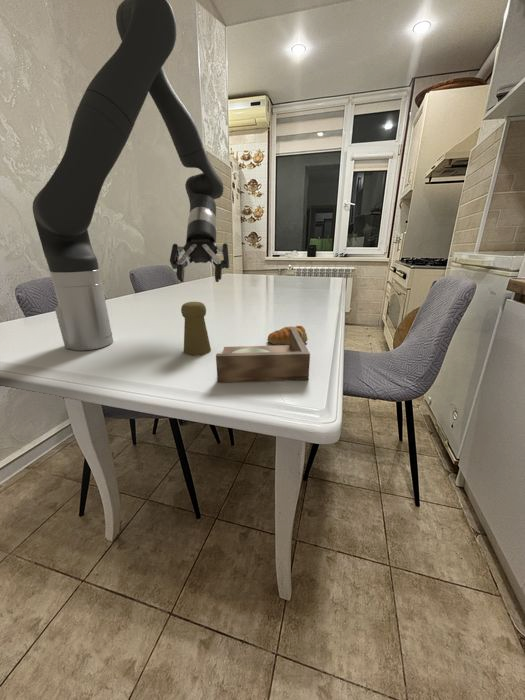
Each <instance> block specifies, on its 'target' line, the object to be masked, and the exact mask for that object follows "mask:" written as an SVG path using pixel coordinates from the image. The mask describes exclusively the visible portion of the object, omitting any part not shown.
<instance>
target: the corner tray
mask: <svg viewBox="0 0 525 700" xmlns="http://www.w3.org/2000/svg"><path fill="white" fill-rule="evenodd" d="M291 327H292V328H290V342H289V345H253V346H252V345H247V346H245V345H244V346H243V345H242V346H241V345H240V346H223V350H222V352H221V353H218V352H217V353H216V354H215V360H216V361H215V363H216V378H217V383H219V384H220V383H221V384H222V383H252V382H254V383H255V382H256V383H257V382H260V383H261V382H287V381H290V382H291V381H309V380H310V379H309V376H310V363H311V362H310V361H311V360H310V359H311V352H310V351H309V349H308V347H307V346H306V343H304V342H303V340H302V339H301V337H300V335H299V333H298V331H297V330H296V328H295V327H296V326H291Z"/></svg>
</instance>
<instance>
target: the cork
mask: <svg viewBox="0 0 525 700" xmlns="http://www.w3.org/2000/svg"><path fill="white" fill-rule="evenodd" d="M180 312H181V315H182V317H183V318H184V328H183V329H184V330H183V336H184V337H183V354H184V355H186V356H189V355H191V356H193V357H199V356H198V355H200V356H204V355H207V354H209V353H211V351H212V348H211V343H210V339H209V335H208V330H207V326H206V319H205V317H206V314H207V308H206V305H205V303H203V302H200V301H189V302H185V303H183V304H182V306H181V308H180ZM206 353H207V354H206ZM203 354H204V355H203ZM196 355H197V356H196ZM191 356H190V357H191Z"/></svg>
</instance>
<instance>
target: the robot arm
mask: <svg viewBox="0 0 525 700" xmlns="http://www.w3.org/2000/svg"><path fill="white" fill-rule="evenodd" d="M115 13H116V14H115V21H116V23H115V24H116V29H117V32H118V35H119V38H120V39H121V43H120V45H119V46H118V48H117V49H116V51H115V52H114V53H113V54H112V56H110V58H109V59H108V60H107V61H106V62H105V63H104V65H102V67H101V68H100V69H99V70H98V71H97V73H96V74H95V75H94V76H93V78H92V79H91V81H90V82H89V84H88V86H87V87H86V89H85V90H84V93H83V94H82V95H83V96H82V98H81V100H80V101H79V103H78V106H77V108H76V111H75V114H74V116H73V120H72V123H71V127H70V131H69V134H68V140H67V144H66V148H65V151H64V154H63V156H62V158H61V160H60V162H59V163H58V166H57V167H56V168H55V170H54V171H53V173H52V175H51V176H50V178H49V180H47V182H46V184H45V185H44V186H43V187H42V189H40V190H39V192H38V193H37V194H36V196H35V197H34V199H33V201H32V215H33V218H34V222H35V225H36V229H37V233H38V237H39V241H40V244H41V248H42V252H43V254H44V255H43V256H44V257H45V260H46V263H47V265H48V270H49V273H50V278H51V281H52V282H51V283H52V285H53V289H54V293H55V297H56V300H57V303H58V306H56V307H55V308H54V311H55V315H56V318H57V323H58V326H59V331H60V333H61V337H62V342H63V344H64V349H66V350H68V349H70V350H72V351H73V350H74V351H79V352H80V351H90V350H96V349H101V348H104V347H107V346H109V345H111V344H113V342H114V338H113V332H112V327H111V323H110V317H109V312H108V307H107V303H106V298H105V292H104V287H103V283H102V282H103V281H102V277H101V273H100V268H99V263H98V259H97V258H98V257H97V256H96V254H95V252H94V249H93V247H92V244H91V239H90V235H89V230H88V229H89V227H90V226H91V223H92V220H93V216H94V214H95V209H96V205H97V202H98V200H99V197H100V194H101V192H102V189H103V185H104V183H105V181H106V179H107V177H108V175H109V174H110V172H111V170H113V168H114V165H116V163H117V161H118V159H119V157H120V155H121V153H122V151H123V149H124V148H125V146H126V144H127V142H128V140H129V138H130V136H131V134H132V131H133V128H134V127H135V124H136V121H137V120H138V117H139V115H140V112H141V110H142V107H143V105H144V103H145V101H146V98H147V96H148V94H150V96H151V99H152V101H153V103H154V105H155V106H156V108H157V109H158V111H159V114H160V116H161V118H162V120H163V122H164V125H165V126H166V128H167V131H168V133H169V136H170V138H171V140H172V143H173V145H174V148H175V150H176V153H177V155H178V157H179V160H180V162H181V165H182V166H183V167H185V168H187V169H188V168H189V169H190V168H192V169H198V170H199V171H202V172H201V173H198V174H194V175H191V176H189V177H188V178H187V180H186V181H185V190H186V194H187V197H188V202H189V206H190V207H189V214H188V215H189V216H188V218H187V226H186V227H187V228H186V229H187V230H186V239H185V244H184V245H183V246H179V245H178V244H177V243H173V244H172V247H171V253H170V259H169V263H170V266H171V267H172V269H173V270H176V274H175V275H176V279H177V280H178V281H179V283H184V282H185V269H187V267H191V265H192V264H199V263H203V264H207V263H208V262H209V263H210V264H211V266H213V267H214V278H215V279H214V280H215V282H216V283H219V281H221V280H222V276H223V274H222V271H223V269H229V268H230V260H229V257H230V256H229V248H228V247H229V246H228V243H223V244H222V245H218V246H217V231H218V229H217V219H216V218H217V205H216V204H217V203H216V201H215V200H218V199H219V198H221V197H222V196H223V194H224V183H223V180H222V179H221V177H220V175H219V173H218V172H217V170H216V168H215V167H214V166H213V164H212V162H211V161H210V158H209V157H208V154H207V153H206V151H205V147H204V144H203V141H202V139H201V138H202V137H201V136H200V133H199V130H198V127H197V124H196V123H195V120H194V118H193V117H192V115H191V113H190V112H189V111H188V109H187V108H186V106H185V105H184V103H183V101H181V99H180V98H179V95H177V93H176V92H175V89H174V88H173V86H172V85H171V83H170V81H169V79H168V77H167V73H166V71H165V68H164V65H165V63H166V62H167V60H168V58H169V57H170V55H171V54H172V52H173V51H174V48H175V44H176V41H177V22H176V21H177V20H176V17H175V14H174V10H173V7H172V6H171V4H170V2H169V1H168V0H123V1H122V2H120V4H119V5H118V6H117V9H116V12H115ZM218 253H219V254H220V255H221V256H222V258H223V259H222V260H221V259H220V258H219V257H217V254H218ZM181 255H182V256H181Z"/></svg>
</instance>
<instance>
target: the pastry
mask: <svg viewBox="0 0 525 700" xmlns="http://www.w3.org/2000/svg"><path fill="white" fill-rule="evenodd" d="M292 327H293V326H285V327H282V328H280V329H279V330H274V331H272V332H271V333H269V334H268V336H267V342H268V343H270V344H272V345H275V344H276V345H275V346H279V345H278V344H285V345H289V342H290V328H292ZM294 327H295V328H296V330H297V331H298V333H299V335H300V337H301V339H302V340H303V342H304V344H306V343H305V342H308V334H307V332H306V328H305V327H304V326H303V325H296V326H294Z"/></svg>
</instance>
